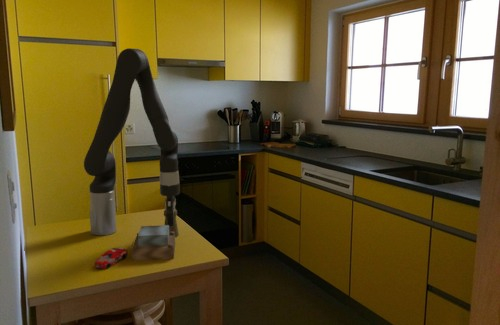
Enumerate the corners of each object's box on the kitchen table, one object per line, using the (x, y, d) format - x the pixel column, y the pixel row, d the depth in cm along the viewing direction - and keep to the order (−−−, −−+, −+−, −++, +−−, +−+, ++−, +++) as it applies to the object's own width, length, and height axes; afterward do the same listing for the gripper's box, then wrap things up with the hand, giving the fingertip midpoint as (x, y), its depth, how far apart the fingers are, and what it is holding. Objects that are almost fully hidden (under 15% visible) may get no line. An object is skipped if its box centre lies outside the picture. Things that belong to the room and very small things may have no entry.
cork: (181, 233, 168) (180, 207, 166) (174, 238, 162) (173, 211, 160) (168, 231, 170) (167, 205, 168) (160, 236, 164) (159, 210, 162)
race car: (104, 272, 134) (103, 260, 133) (90, 269, 136) (90, 257, 135) (130, 256, 146) (129, 245, 145) (118, 254, 148) (117, 243, 147)
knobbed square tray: (132, 260, 142) (131, 238, 140) (137, 245, 156) (136, 224, 154) (173, 258, 144) (173, 236, 142) (175, 243, 157) (174, 223, 156)
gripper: (161, 178, 168) (163, 217, 171) (158, 187, 154) (160, 228, 157) (180, 178, 169) (181, 216, 172) (178, 186, 155) (180, 227, 158)
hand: (171, 222), depth 165 cm, fingers open, 8 cm apart
